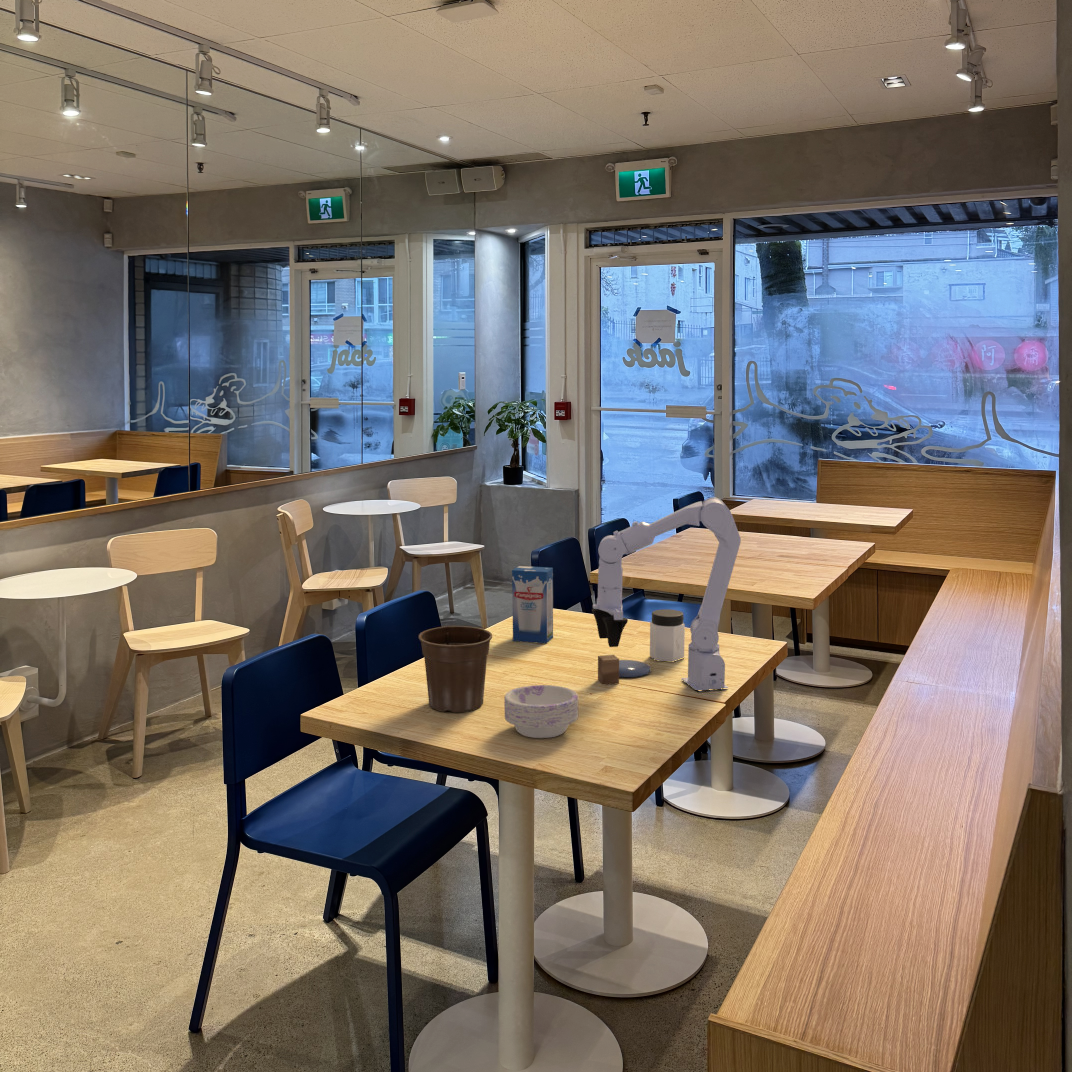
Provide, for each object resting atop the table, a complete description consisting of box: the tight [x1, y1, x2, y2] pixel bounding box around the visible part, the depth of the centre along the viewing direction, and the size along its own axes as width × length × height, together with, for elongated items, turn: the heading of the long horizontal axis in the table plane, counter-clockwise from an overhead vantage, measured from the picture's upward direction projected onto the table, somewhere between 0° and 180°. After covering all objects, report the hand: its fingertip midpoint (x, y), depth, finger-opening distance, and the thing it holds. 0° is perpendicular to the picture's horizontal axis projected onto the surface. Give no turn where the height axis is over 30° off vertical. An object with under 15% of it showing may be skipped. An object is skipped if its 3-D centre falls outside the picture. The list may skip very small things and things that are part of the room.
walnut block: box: [597, 654, 620, 685], centre depth 238 cm, size 4×4×6 cm
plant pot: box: [418, 625, 493, 714], centre depth 221 cm, size 16×16×16 cm
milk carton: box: [511, 565, 554, 644], centre depth 275 cm, size 10×6×20 cm, turn 73°
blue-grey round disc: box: [619, 659, 651, 678], centre depth 247 cm, size 12×12×1 cm
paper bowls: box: [503, 684, 579, 739], centre depth 205 cm, size 15×15×8 cm
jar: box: [649, 608, 686, 662], centre depth 257 cm, size 9×8×12 cm
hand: (608, 642), depth 237 cm, fingers open, 7 cm apart
